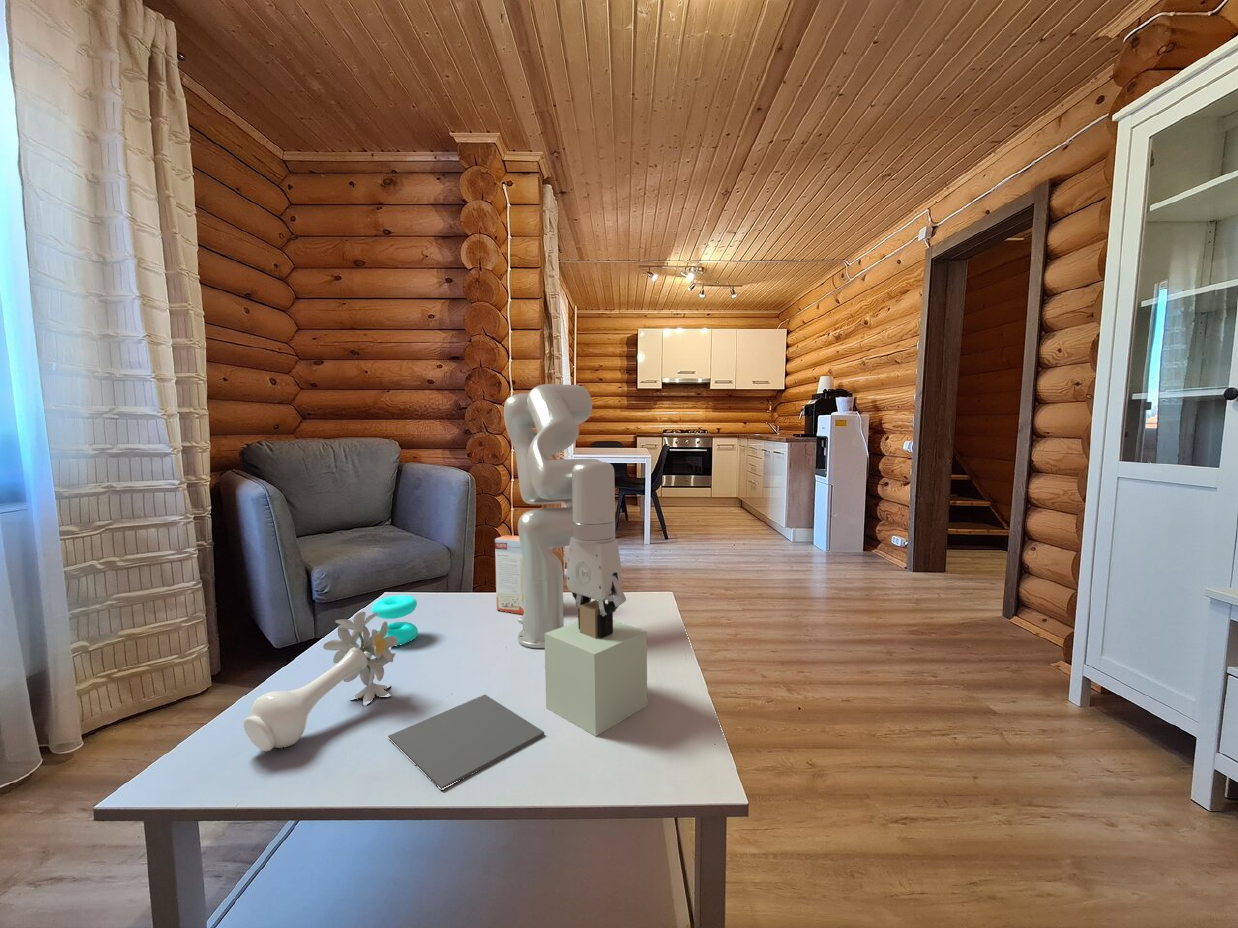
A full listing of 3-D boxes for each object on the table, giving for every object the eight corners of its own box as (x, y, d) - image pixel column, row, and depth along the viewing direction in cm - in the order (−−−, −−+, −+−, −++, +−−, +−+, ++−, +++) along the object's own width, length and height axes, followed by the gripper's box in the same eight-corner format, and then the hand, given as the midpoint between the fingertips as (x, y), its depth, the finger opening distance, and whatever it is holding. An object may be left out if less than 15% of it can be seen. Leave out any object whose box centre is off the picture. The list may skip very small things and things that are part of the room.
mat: (388, 739, 84) (388, 735, 84) (485, 697, 97) (485, 694, 97) (441, 791, 71) (441, 787, 71) (544, 735, 84) (544, 731, 84)
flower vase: (295, 796, 80) (413, 687, 102) (272, 708, 73) (404, 610, 95) (240, 763, 85) (365, 665, 106) (214, 677, 78) (353, 591, 100)
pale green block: (546, 707, 93) (543, 606, 92) (597, 682, 102) (596, 589, 101) (595, 736, 84) (593, 624, 83) (647, 705, 93) (646, 604, 92)
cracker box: (549, 611, 144) (548, 537, 142) (537, 618, 138) (535, 541, 137) (509, 604, 150) (507, 533, 148) (495, 611, 144) (493, 537, 143)
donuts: (413, 591, 130) (419, 602, 122) (414, 629, 131) (421, 643, 122) (369, 598, 125) (373, 609, 117) (371, 637, 126) (375, 652, 117)
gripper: (547, 528, 94) (549, 625, 95) (613, 540, 82) (614, 651, 84) (578, 523, 99) (579, 615, 101) (643, 533, 88) (644, 637, 89)
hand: (595, 630), depth 92 cm, fingers open, 4 cm apart
